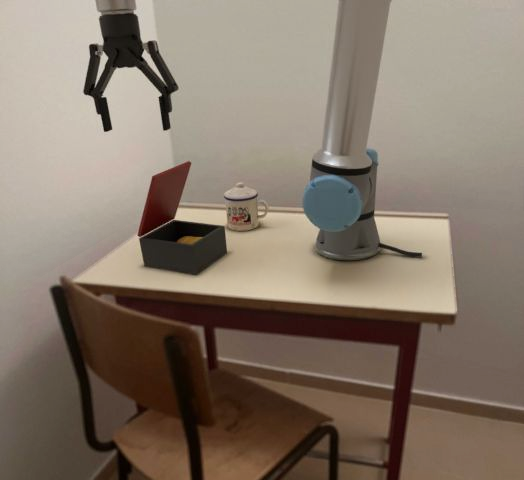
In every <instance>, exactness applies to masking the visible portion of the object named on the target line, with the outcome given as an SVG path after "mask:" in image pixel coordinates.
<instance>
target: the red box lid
mask: <svg viewBox="0 0 524 480" xmlns="http://www.w3.org/2000/svg"><path fill="white" fill-rule="evenodd" d="M191 166H192V162H191V161H190V160H188V161H185V162H183V163H180V164H178V165H176V166H174V167H173V166H172V167H171V168H168V169H166V170H164V171H161V172H158V173H156V174H154V175H152V176H151V180H150V185H149V188H148V191H147V196H146V199H145V203H144V207H143V212H142V215H141V219H140V223H139V227H138V231H137V234H136V235H137V237H138V238H141V237H143V236H145V235H146V234H148V233H150V232H152V231H154V230H156V229H158V228H159V227H161V226H163V225H165V224H167V223H169V222H170V221H172V220H176V219H175V218H176V215H177V212H178V209H179V205H180V203H181V199H182V196H183V194H184V193H183V192H184V190H185V186H186V182H187V180H188V176H189V174H190V170H191Z"/></svg>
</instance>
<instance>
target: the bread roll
mask: <svg viewBox="0 0 524 480" xmlns="http://www.w3.org/2000/svg"><path fill="white" fill-rule="evenodd" d="M201 238H203V237H191V236H186V237H182V238H180V239H179V240H178V241H177V242H178V243H185V244H193V243H195V242H196V241H198V240H199V239H201Z"/></svg>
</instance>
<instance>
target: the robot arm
mask: <svg viewBox="0 0 524 480" xmlns="http://www.w3.org/2000/svg"><path fill="white" fill-rule="evenodd" d="M392 2H393V0H338V3H337V11H336V19H335V20H336V21H335V29H334V37H333V45H332V53H331V62H330V70H329V71H330V72H329V78H328V79H329V80H328V88H327V95H326V96H327V98H326V103H325V104H326V105H325V113H324V122H323V130H322V138H321V146H320V148H319V149H318V150H316V152H315V153H313V155H312V158H311V165H310V166H311V167H310V175H309V182H308V184H307V185H306V187H305V188H304V192H303V194H302V195H303V196H302V209H303V211H304V215H305V216H306V218H307V219H308V220H309V222H310V223H311V224H312V225H313V226H314V227H316V228H317V229H319V230H318V233H317V237H316V239H315V251H316V252H317V254H318V255H320V256H321V257H324V258H327V259H331V260H336V261H359V260H365V259H369V258H371V257H374V256H375V255H377V254H379V252H380V250H381V249H383V250H387V251H392V252H394V253H396V254H397V253H398V254H400V255H404V256H408V257H416V258H417V257H418V258H422V257H423V252H415V251H407V250H404V249H400V248H399V247H395V246H392V245H389V244H386V243H382V242H381V238H380V234H379V231H378V227H377V223H376V219H375V208H376V192H377V177H378V167H379V157H378V156H379V154H378V151H376V149H373V148H369V147H368V140H369V134H370V128H371V123H372V117H373V110H374V104H375V99H376V92H377V86H378V80H379V74H380V68H381V62H382V56H383V50H384V43H385V39H386V32H387V26H388V20H389V13H390V8H391V3H392ZM95 6H96V11H97V12H98V13H100V15H99V17H98V23H99V28H100V32H101V37H102V41H103V42H102V43H103V44H99V43H90V44H89V45H88V50H89V51H88V52H89V60H88V65H87V70H86V75H85V81H84V85H83V90H82V92H83V94H84V96H89V97H91V98H92V99H93V103H94V106H95V112H96V114H97V115H100V119H101V122H102V128H103V129H102V130H103V133H106V132H111V131H113V125H112V120H111V114H110V110H109V103H108V100H107V96H104V93H105V91H106V88H107V87H108V85H109V83H110V80H111V78H112V77H113V75H114V73H115V71H116V70H117V69H123V68H124V69H125V68H128V69H133V68H136V69H137V70H139V71H140V72H141V73H142V74H143V75H144V76H145V78H146V79H147V80H148V81H149V82H150V83H151V85H153V86H154V87H155V89H156V90H158V93H160V94H161V95H160V96H158V104H159V111H160V118H161V119H160V120H161V125H162V131H163V132H165V131H169V130H171V120H170V113H172V112H173V105H172V104H173V103H172V94H173V93H175V92H177V91H179V85H178V83H177V82H176V79H175V78H174V76H173V75H172V72H171V71H170V69H169V67H168V66H167V64H166V62H165V60H164V58H163V57H162V55H161V52H160V48H159V44H158V41H157V40H148V41H146V42H143V41H142V38H141V28H140V21H139V16H138V14H136V13H135V11H136V10H137V3H136V0H95ZM145 51H146V54H148V55H149V56H150V58H151V61H152V62H153V63H154V65H155V67H156V69H157V71H158V72H159V74H157V72H156V71H155V70H153V68H152V67H151V66H150V65H149V63H148V61H147V60H146V59H145V58H144V56H143V54H144V52H145ZM103 53H104V54H105V55H106V57H107V60H106V62H105V64H104V68H103V70H102V72H101V74H100V76H99V78H98V74H99V68H100V64H101V58H102V56H103ZM159 75H160V76H161V77H160V76H159ZM97 79H98V80H97Z"/></svg>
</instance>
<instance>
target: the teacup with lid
mask: <svg viewBox="0 0 524 480" xmlns="http://www.w3.org/2000/svg"><path fill="white" fill-rule="evenodd" d="M235 185H236V186H233V187H232V188H231V189H229V190H227V191H225V192H224V194H223V198H224V201H225V212H226V224H227V228H228V229H230V230H232V231H238V232H245V231H250V230H254V229H256V228H257V227H258V226H259V224H260V223H259V222H260V220H259V219H264V218H265V217H266V216H267V215H268V213H269V208H270V207H269V203H268V202H267V201H266V200H263V199H258V196H259V193H258V191H257V190H256V189H255V188H250V187H248V186H246V185H245V183H244V182H242V181H241V182H237V183H236V184H235ZM258 204H262V205H263V206H264V208H265V211H264V213H263V214H260V215H259V205H258Z"/></svg>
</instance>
